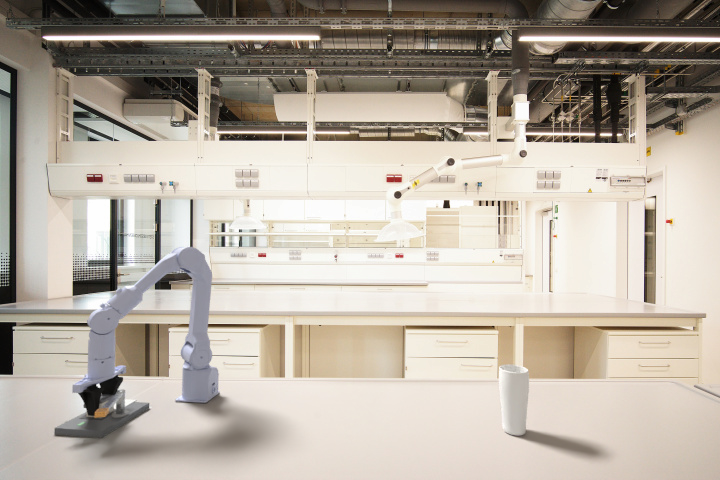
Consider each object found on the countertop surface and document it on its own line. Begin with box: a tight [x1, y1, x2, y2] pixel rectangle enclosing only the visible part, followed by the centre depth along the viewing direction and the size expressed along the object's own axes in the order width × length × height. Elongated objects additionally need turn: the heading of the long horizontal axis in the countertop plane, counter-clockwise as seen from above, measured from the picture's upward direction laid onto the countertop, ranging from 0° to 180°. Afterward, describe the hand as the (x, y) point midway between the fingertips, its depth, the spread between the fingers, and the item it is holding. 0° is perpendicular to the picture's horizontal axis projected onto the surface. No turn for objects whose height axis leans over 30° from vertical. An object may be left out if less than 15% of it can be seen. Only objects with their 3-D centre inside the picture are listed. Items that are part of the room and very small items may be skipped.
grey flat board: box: [53, 398, 150, 439], centre depth 94 cm, size 12×17×2 cm
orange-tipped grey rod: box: [95, 389, 126, 418], centre depth 87 cm, size 14×2×5 cm, turn 15°
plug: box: [82, 394, 114, 418], centre depth 94 cm, size 6×4×4 cm, turn 83°
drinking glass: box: [498, 364, 530, 437], centre depth 89 cm, size 7×7×15 cm
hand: (100, 411), depth 93 cm, fingers closed on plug, 4 cm apart
